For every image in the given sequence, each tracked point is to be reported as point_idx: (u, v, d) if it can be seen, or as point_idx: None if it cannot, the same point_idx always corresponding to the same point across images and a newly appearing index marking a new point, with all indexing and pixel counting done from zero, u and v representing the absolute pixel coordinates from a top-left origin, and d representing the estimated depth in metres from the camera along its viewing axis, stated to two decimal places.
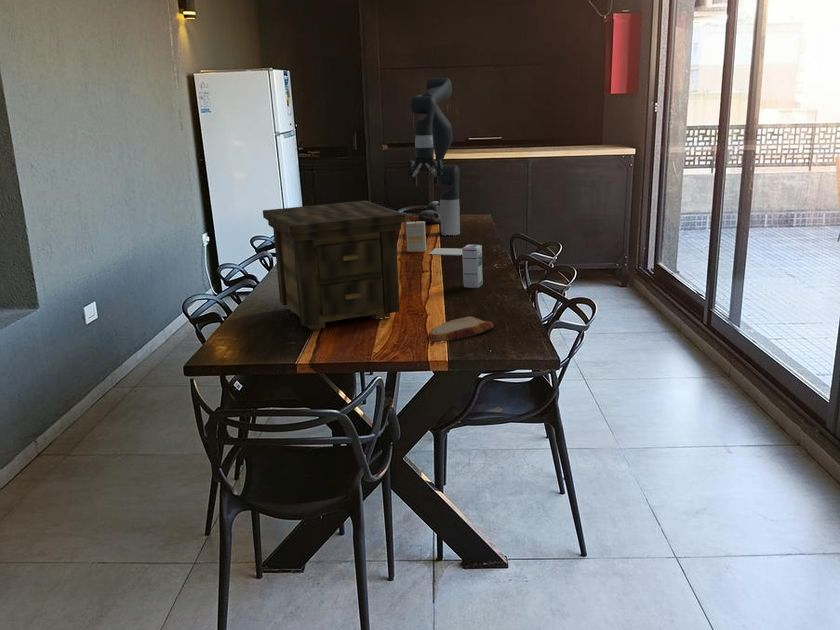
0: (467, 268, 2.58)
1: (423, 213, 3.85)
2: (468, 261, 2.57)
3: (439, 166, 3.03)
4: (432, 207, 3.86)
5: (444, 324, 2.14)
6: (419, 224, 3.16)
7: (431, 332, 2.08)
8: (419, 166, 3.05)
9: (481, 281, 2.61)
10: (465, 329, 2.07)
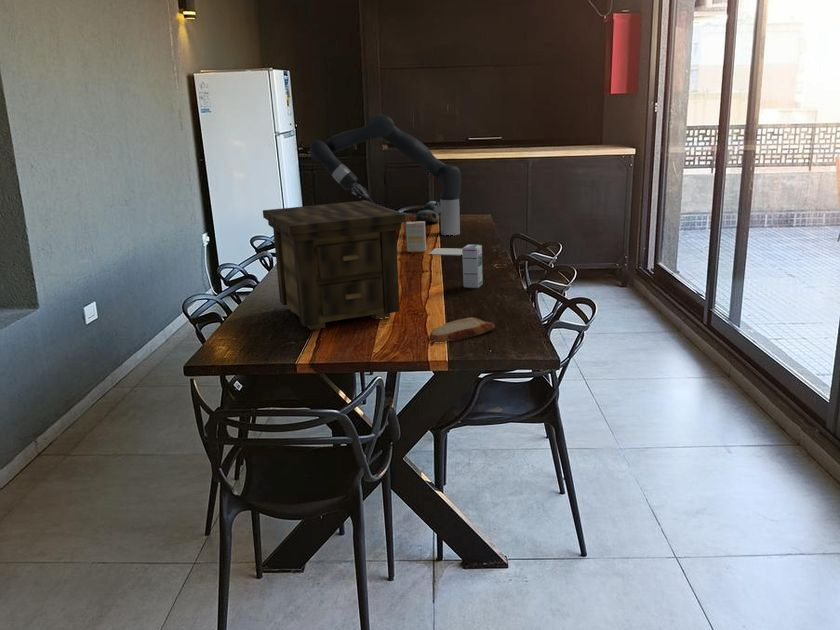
0: (467, 268, 2.58)
1: (421, 213, 3.85)
2: (468, 261, 2.57)
3: None
4: (430, 207, 3.87)
5: (445, 325, 2.13)
6: (419, 224, 3.16)
7: (432, 333, 2.07)
8: None
9: (481, 281, 2.61)
10: (466, 330, 2.06)
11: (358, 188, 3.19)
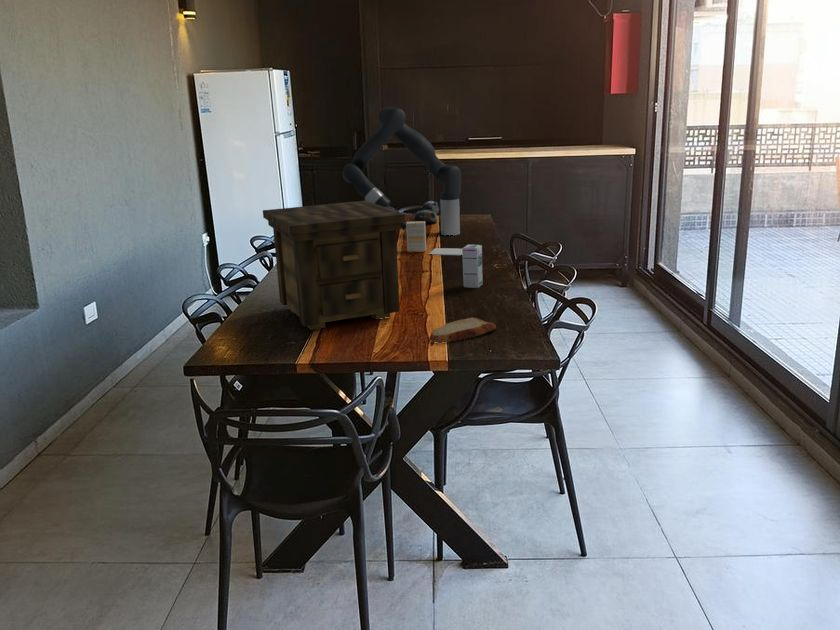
0: (467, 268, 2.58)
1: (419, 213, 3.86)
2: (468, 261, 2.57)
3: None
4: (428, 207, 3.87)
5: (446, 325, 2.13)
6: (419, 224, 3.16)
7: (433, 333, 2.07)
8: None
9: (481, 281, 2.61)
10: (467, 330, 2.06)
11: None
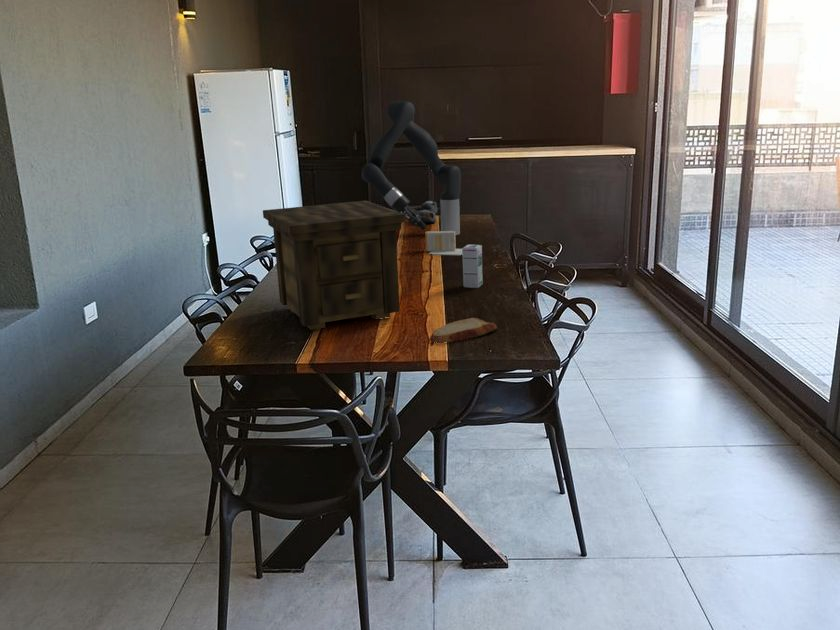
0: (467, 268, 2.58)
1: None
2: (468, 261, 2.57)
3: None
4: (427, 207, 3.87)
5: (447, 325, 2.13)
6: (453, 246, 3.18)
7: (433, 333, 2.07)
8: None
9: (481, 281, 2.61)
10: (468, 330, 2.05)
11: (411, 211, 3.15)
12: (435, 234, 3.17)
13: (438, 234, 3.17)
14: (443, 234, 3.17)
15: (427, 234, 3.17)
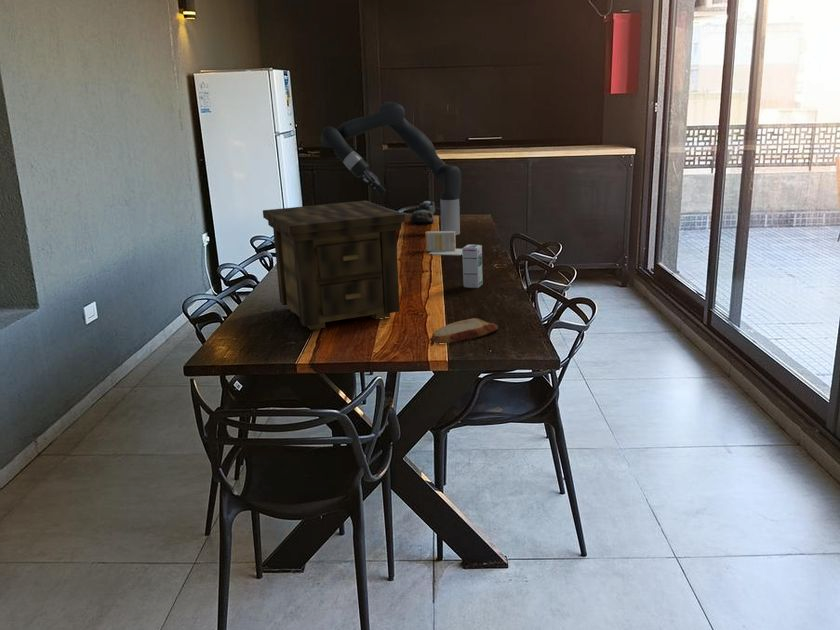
0: (467, 268, 2.58)
1: (417, 213, 3.86)
2: (468, 261, 2.57)
3: None
4: (425, 207, 3.88)
5: (448, 325, 2.12)
6: (453, 246, 3.18)
7: (434, 333, 2.06)
8: None
9: (481, 281, 2.61)
10: (469, 331, 2.05)
11: (370, 175, 3.16)
12: (435, 234, 3.17)
13: (438, 234, 3.17)
14: (443, 234, 3.17)
15: (427, 234, 3.17)
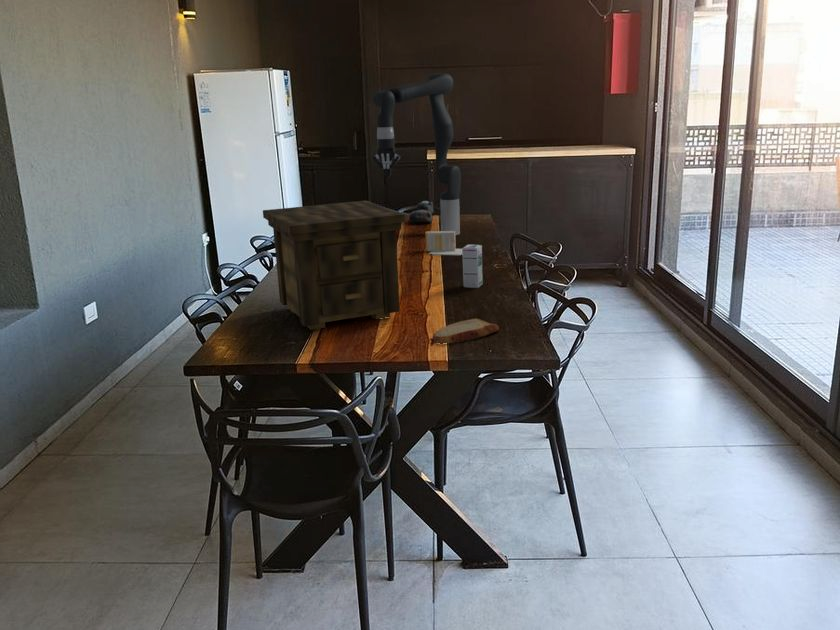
0: (467, 268, 2.58)
1: (415, 213, 3.86)
2: (468, 261, 2.57)
3: (395, 160, 3.25)
4: (423, 207, 3.88)
5: (449, 326, 2.12)
6: (453, 246, 3.18)
7: (435, 334, 2.06)
8: (382, 157, 3.25)
9: (481, 281, 2.61)
10: (469, 331, 2.05)
11: None
12: (435, 234, 3.17)
13: (438, 234, 3.17)
14: (443, 234, 3.17)
15: (427, 234, 3.17)
